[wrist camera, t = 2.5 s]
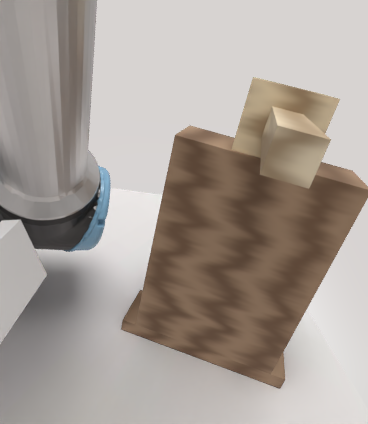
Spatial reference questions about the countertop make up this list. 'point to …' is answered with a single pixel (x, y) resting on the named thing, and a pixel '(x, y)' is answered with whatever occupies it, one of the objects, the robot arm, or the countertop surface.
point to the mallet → (285, 130)
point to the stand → (238, 255)
